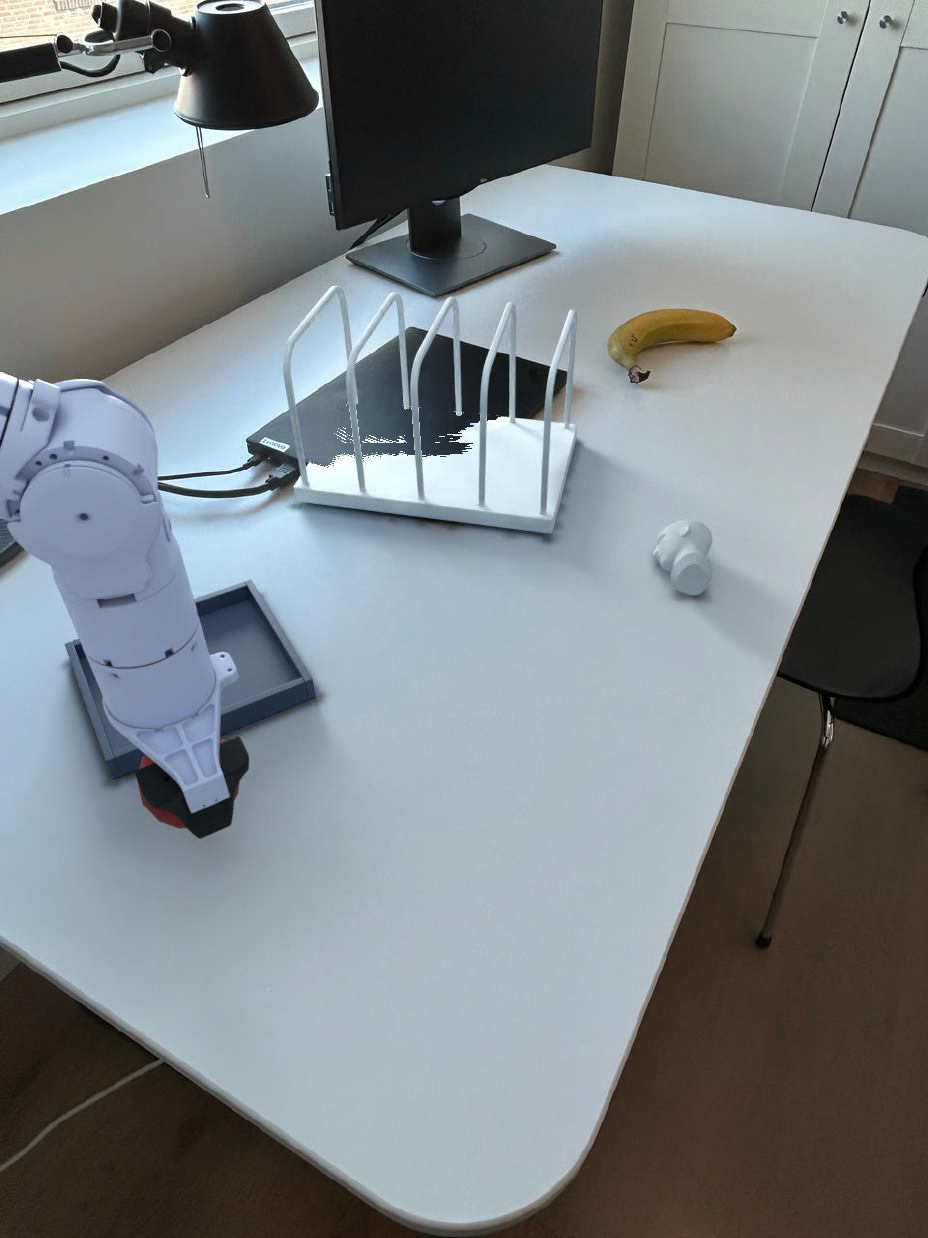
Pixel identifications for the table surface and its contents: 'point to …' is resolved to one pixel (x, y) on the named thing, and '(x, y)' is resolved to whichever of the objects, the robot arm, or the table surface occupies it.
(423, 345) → the file sorter
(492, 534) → the table surface
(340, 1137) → the table surface
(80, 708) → the table surface
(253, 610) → the tray
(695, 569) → the pale two-lobed sculpture
